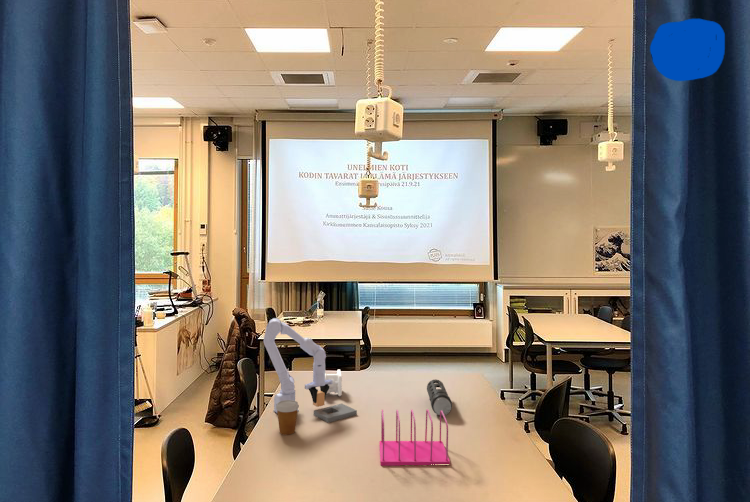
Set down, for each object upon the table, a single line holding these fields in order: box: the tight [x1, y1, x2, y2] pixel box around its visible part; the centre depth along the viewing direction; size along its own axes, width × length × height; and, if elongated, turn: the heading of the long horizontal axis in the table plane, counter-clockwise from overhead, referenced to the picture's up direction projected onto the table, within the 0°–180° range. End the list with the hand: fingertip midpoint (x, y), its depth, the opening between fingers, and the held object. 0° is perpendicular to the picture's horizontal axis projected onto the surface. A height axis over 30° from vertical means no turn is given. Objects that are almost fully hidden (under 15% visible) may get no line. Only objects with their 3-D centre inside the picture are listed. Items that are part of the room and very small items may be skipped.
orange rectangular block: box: [312, 390, 326, 408], centre depth 224 cm, size 4×4×6 cm
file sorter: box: [378, 408, 451, 467], centre depth 176 cm, size 17×25×16 cm
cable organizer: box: [325, 369, 343, 397], centre depth 246 cm, size 15×11×12 cm
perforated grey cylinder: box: [426, 379, 453, 417], centre depth 227 cm, size 10×28×10 cm, turn 179°
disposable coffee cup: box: [276, 400, 299, 436], centre depth 197 cm, size 10×10×12 cm
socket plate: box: [313, 403, 358, 424], centre depth 217 cm, size 16×12×2 cm
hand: (318, 401), depth 224 cm, fingers closed on orange rectangular block, 4 cm apart
